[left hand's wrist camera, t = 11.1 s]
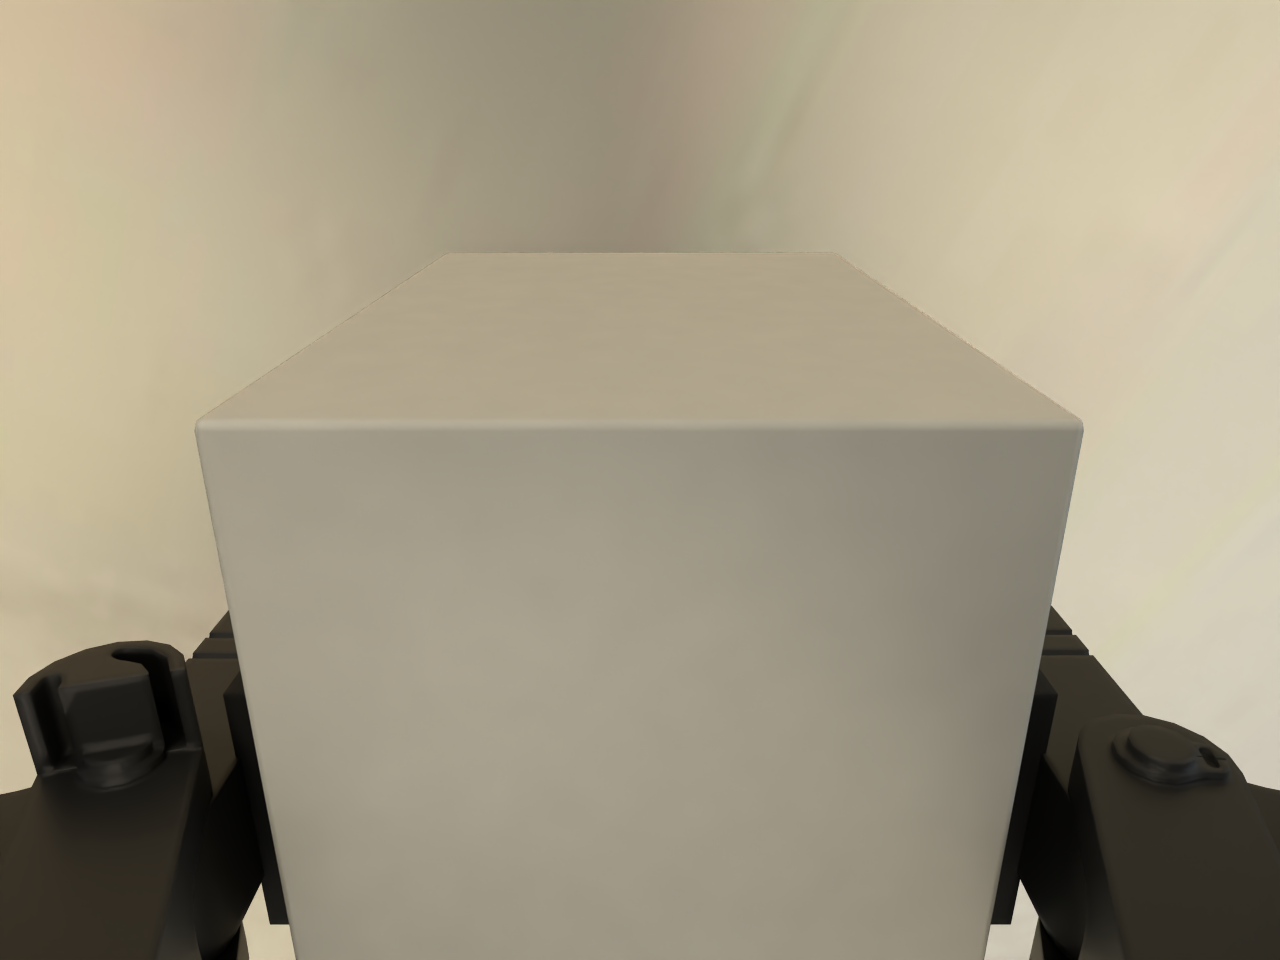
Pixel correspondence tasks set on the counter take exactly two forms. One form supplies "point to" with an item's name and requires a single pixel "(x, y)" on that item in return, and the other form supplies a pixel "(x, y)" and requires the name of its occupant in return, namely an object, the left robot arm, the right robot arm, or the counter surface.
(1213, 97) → the counter surface
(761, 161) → the counter surface
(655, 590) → the bar
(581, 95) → the counter surface
